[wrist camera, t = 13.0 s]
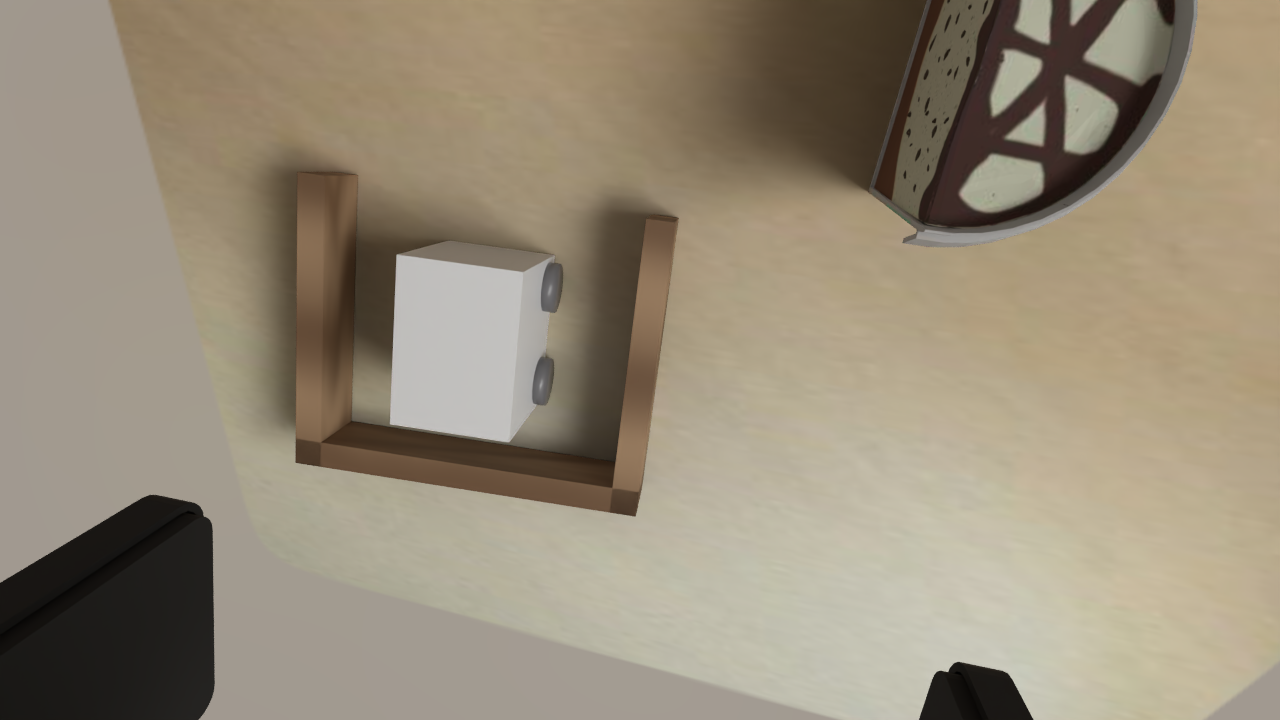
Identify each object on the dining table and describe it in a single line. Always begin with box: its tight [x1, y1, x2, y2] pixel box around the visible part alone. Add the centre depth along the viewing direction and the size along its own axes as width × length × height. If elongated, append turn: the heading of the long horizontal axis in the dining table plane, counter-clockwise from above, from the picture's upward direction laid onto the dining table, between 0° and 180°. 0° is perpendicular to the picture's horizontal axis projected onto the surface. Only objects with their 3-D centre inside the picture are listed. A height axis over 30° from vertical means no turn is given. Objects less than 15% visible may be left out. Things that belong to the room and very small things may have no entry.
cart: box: [390, 240, 563, 442], centre depth 32 cm, size 7×6×6 cm
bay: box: [296, 172, 679, 516], centre depth 34 cm, size 13×16×3 cm
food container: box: [868, 0, 1197, 247], centre depth 26 cm, size 12×6×10 cm, turn 167°
